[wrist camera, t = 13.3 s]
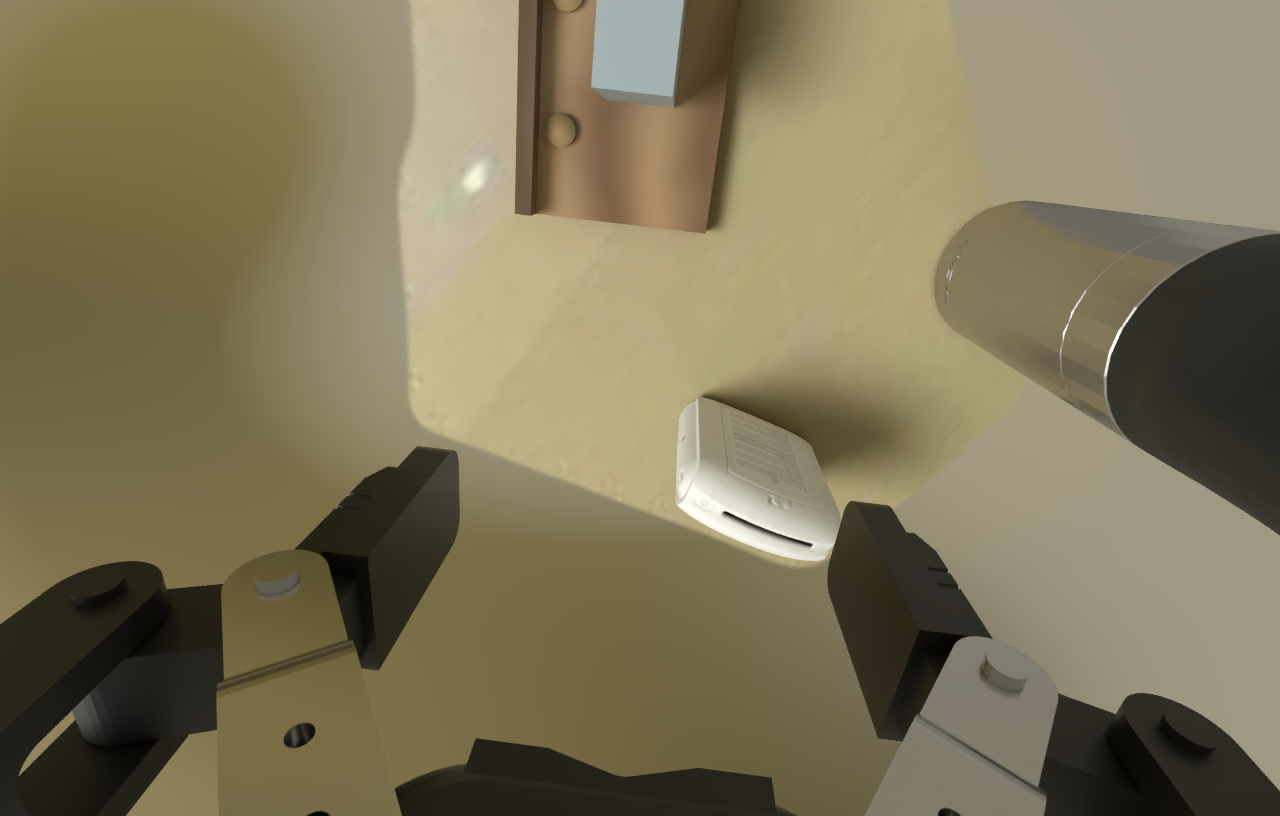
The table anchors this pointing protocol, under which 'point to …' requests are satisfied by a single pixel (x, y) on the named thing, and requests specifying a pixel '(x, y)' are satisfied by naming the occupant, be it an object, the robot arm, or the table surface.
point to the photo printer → (753, 482)
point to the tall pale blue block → (638, 50)
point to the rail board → (617, 122)
